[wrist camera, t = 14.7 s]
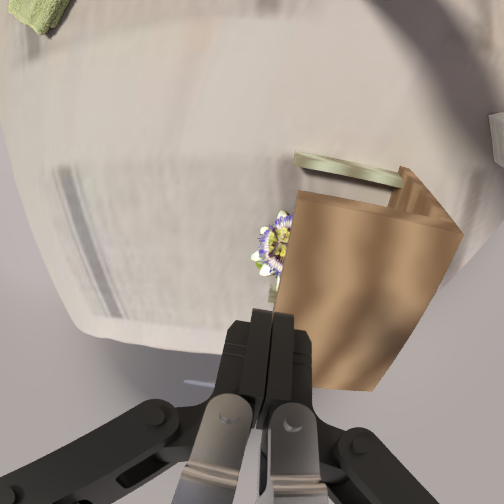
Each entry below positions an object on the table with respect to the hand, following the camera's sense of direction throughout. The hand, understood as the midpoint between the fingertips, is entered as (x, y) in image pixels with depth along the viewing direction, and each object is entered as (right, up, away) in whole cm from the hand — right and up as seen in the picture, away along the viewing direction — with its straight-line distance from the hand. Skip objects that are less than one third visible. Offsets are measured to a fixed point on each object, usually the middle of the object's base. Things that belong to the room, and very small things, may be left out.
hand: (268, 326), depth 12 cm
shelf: (+11, +5, +34) cm, 36 cm away
